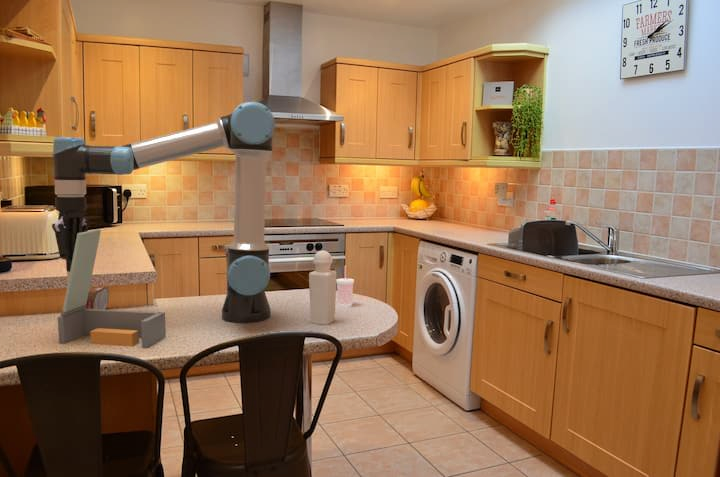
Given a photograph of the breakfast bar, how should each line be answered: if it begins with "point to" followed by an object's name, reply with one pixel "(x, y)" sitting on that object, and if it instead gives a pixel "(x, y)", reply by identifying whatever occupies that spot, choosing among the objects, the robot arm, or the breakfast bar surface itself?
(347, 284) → the beverage cup
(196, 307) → the breakfast bar surface
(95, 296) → the tin
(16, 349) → the breakfast bar surface
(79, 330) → the grey u-shaped bracket
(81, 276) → the cover
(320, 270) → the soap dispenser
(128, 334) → the orange block
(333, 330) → the breakfast bar surface
